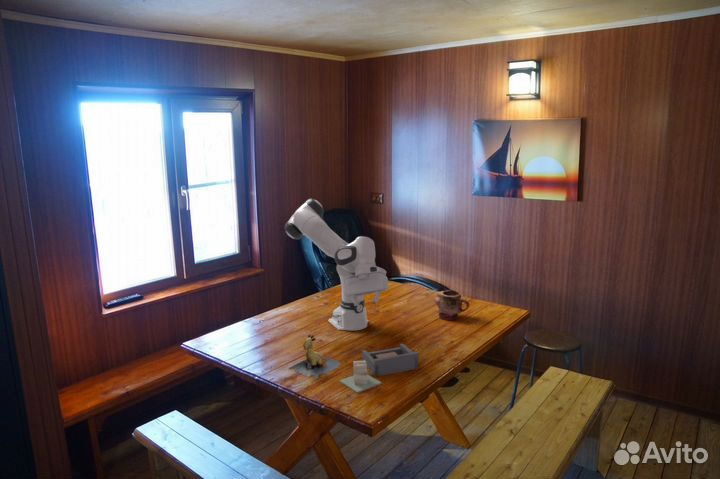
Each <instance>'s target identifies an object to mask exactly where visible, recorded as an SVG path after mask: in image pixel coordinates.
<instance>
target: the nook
mask: <svg viewBox="0 0 720 479" xmlns="http://www.w3.org/2000/svg"><path fill="white" fill-rule="evenodd" d="M361 353H362V356H361V357H362V358H361V361H365V360H366V363H367V369H369V371H370V372H371V373H372V374H373V375H374V377H375V378H376V377H380V376H385V375H392V374H396V373H402V372H407V371H411V370H418V369H419V352H418V351H412V350H411V349H410V348H408V346H406V345H405V344H404V343H400V344H399V347H393V348H386V349H382V350H376V351H369V352H368V351H367V349H363V350H361Z"/></svg>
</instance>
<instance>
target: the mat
mask: <svg viewBox="0 0 720 479" xmlns="http://www.w3.org/2000/svg"><path fill="white" fill-rule="evenodd" d="M339 382H340V383H341V384H343V385H344V386H345V387H347V388H349V389H350V390H352V391H353V392H355V393H357V394H359V393H361V392H364V391H366V390H367V391H368V390H369V389H372V388H374V387H378V386H379V385H382V382H381V381H379V380H378V379H376V377H375V378H374V377H373V376H371V375H370V374H368V373H367V384H359V385H355V383H354V374H353V375H351V376H348V377H345V378H342V379H340V380H339Z"/></svg>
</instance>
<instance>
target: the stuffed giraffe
mask: <svg viewBox="0 0 720 479" xmlns="http://www.w3.org/2000/svg"><path fill="white" fill-rule="evenodd" d="M316 340H317V338H316V337H315V334H312V335H311V333H309V334H308V335H307V338H305V340H304V342H303V350H305V351H306V352H305V354H306V355H305V356H306V359H303V360H301V361H299V362H298V363H296V364H294V365H292V366H289V367H288V370H294V372H297V373H299V374H301V375H303V376H305V377H310V375H314V377H313V380H316V379H318V378H319V375H320V374H323V375H325V374H328V373H330V372H332V371H333V370H335V369H338V368H339V366H341V365H342V364H341V362H339V360H335V359H332V358H330V357H327V356H323V354H322V353H319V352H317V351H315V350H313V349H314V341H316ZM325 360H326V361H325ZM324 361H325V365H323V362H324ZM306 369H308V370H306Z"/></svg>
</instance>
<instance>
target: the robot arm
mask: <svg viewBox="0 0 720 479" xmlns="http://www.w3.org/2000/svg"><path fill="white" fill-rule="evenodd" d="M284 230H285V233H286V235H287V236H288V237H289V238H291V239H294V240H300V239H301V238H303V237H304V236H305V237H306V238H307V239H308V240H310V241H312V243H313V244H314V245H315V246H317V248H318V249H320V250H321V252H323V253H324V254H325V255H326V256H328V257H330V258H333V259H334V262H335V263H336V272H337V273H338V276H339V278H340V279H339V280H340V285H341V299H339V302H340V304H339V306H338V307H336V308H335V309H334V310H333V311H332V317H330V318H329V319H328V322H329V323H330V325H332V326H333V327H335V329H337V330H338V331H351V332H352V331H360V330H364V329H366V328H367V327H368V324H369V322H370V321H369V319H368V317H367V309H366V306H365V305H366V302H365V299H364V297H365V295H371V294H375V296H374V297H373V298H372V303H374V304H377V303H379V298H380V296H381V293H382V292H386V291H388V289H389V280H388V277H387V270H385V269H384V268H382V267H379V266H377V264H376V246H375V241H374V240H373V239H372V238H370V237H369V236H363V235H360V236H357V237H356V238H355V240H353V241H352V242H350V243H349V242H347V241H346V240H344V239H343V238H341V236H339V235H338V234H337V233H336V232H335V231H333V230H332V229H331V228H330V227H329V225H328V224H327V223H326V222H325V220H324V208H323V205H322V203H321V202H319V201H318V200H316V199H313V198H309V199H307V200H306V201H304V203H303V204H301V206H299V207H298V208H297V209H296V210H295V212H294V213H293V214H292V215H291V217H290V218H289V220H287V222H286V223H285V224H284Z"/></svg>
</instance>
